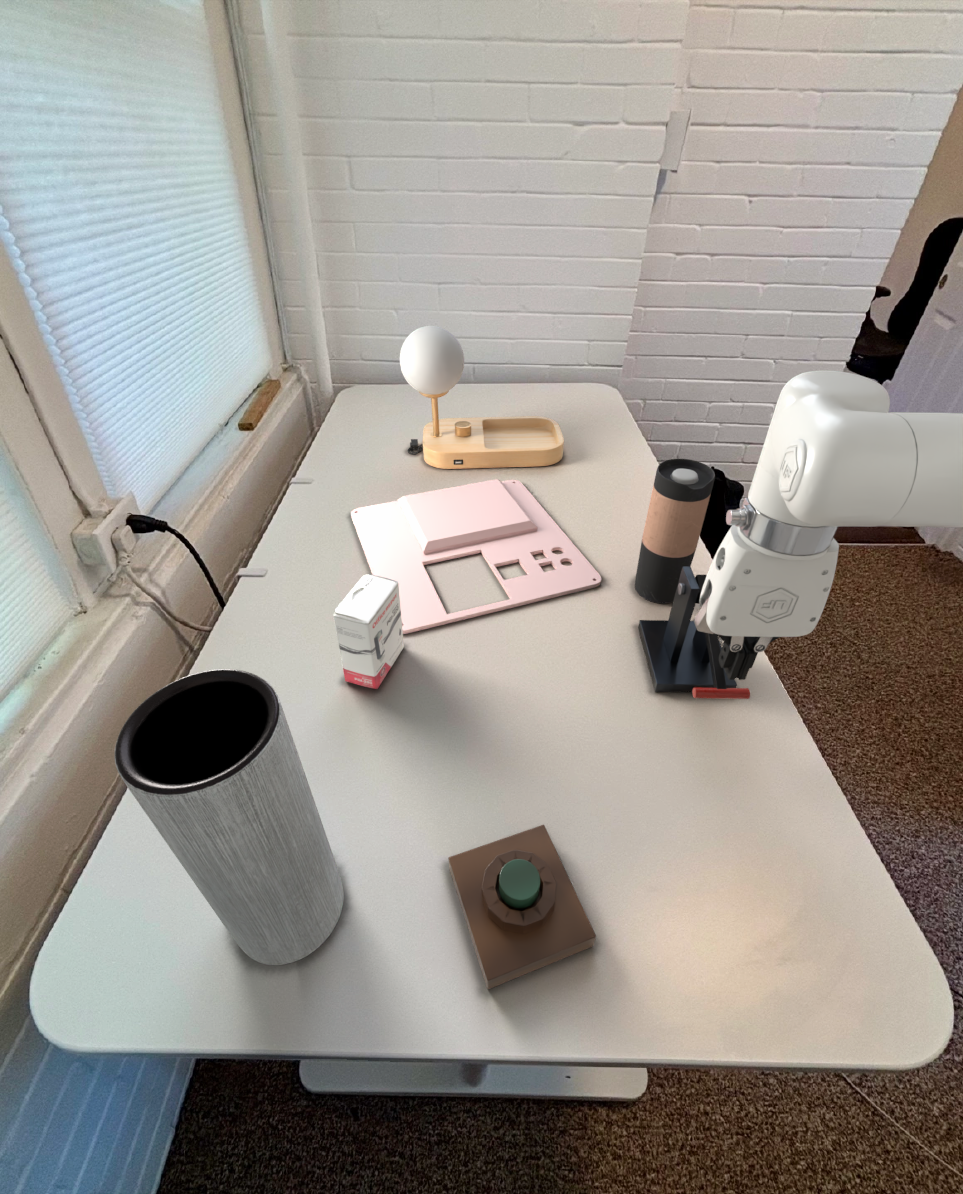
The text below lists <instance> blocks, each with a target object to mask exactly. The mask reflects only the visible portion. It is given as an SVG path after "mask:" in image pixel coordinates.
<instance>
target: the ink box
mask: <svg viewBox="0 0 963 1194" xmlns="http://www.w3.org/2000/svg"><path fill="white" fill-rule="evenodd" d="M333 621H334V627H335V632H336V637H337V645H338V649H339V655H340V660H341V665H342V672H343V677H344V681H345V682H347V683H350V684H354V685H358V686H361V687H365V688H369V689H373V690H378V689H379V688H380V687H381V686H380V685H381V684H382V682H383V681H384V680H385V678H386V676H387V675H388V673H389V671H390V670H391V668H393V665H394V664H395V662H396V661H397V659H398V658H399V656H400V654H401V652H402V651H403V649H404V647H405V643H404V634H403V630H402V619H401V608H400V597H399V585H398V581H395V580H392V579H388V578H385V577H380V576H376V575H372V573H371V574H370V573H367V574H364V575H362V576H361V577H360V579H359V580H358V581H357V582H356V583H355V584H354V586H353V587H352V588H351V589H350V590H349V591H348V592H347V594H346V596H345V597H344V598H343V599H342V600H340V602H339V604H338V605H337V606H336V607H335V609H334V613H333Z"/></svg>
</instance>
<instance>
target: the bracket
mask: <svg viewBox="0 0 963 1194" xmlns="http://www.w3.org/2000/svg"><path fill="white" fill-rule="evenodd" d="M695 577H696V575H695V574H694V572H693V569H692V566H691V567H685V566H683V567H682V571H681V574H680V578H679V582H678V586H677V589H676V593H675V597H674V601H673V602H672V605H671V609H670V613H669V615H668V619H667V620H664V619H662V620H660V619H659V620H658V619H641V620H639V621H638V626H637V630H638V633H639V636H640V640H641V644H642V645H641V646H642V648H643V652H644V656H645V661H646V664H647V667H648V672H649V675H650V678H651V682H652V686H653V691H654V692H655V693H692V691H693V688H694V687H702V688H714V686H713V679H712V673H711V667H710V660H709V654H708V647H707V641H706V635H705V632H700V631H698V630H697V629H696V626H695V623H694V620H692V617H693V614H694V610H695V606H696V604H695V603H696V600H697V597H698V593H699V590H700V588H699V586H698V584H697V581H696V579H695ZM719 645H720V651H721V649H722V645H721V642H720V641H719ZM723 669H724V668H723ZM724 675H725V681H726V687H727V688H738V683H737V681H736V679H735V680H729V679H728V677H727V675H726V672H725V670H724Z"/></svg>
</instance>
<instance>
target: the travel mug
mask: <svg viewBox="0 0 963 1194" xmlns="http://www.w3.org/2000/svg"><path fill="white" fill-rule="evenodd" d="M658 464H659V465H658V466H657V467H656V472H655V476H654V481H653V486H652V490H651V493H650V494H651V495H650V500H649V504H648V507H647V508H648V509H647V513H646V518H645V523H644V527H643V533H642V535H641V543H640V548H639V549H640V550H639V553H638V560H637V567H636V572H635V573H636V574H635V578H634V579H635V580H634V588H635V592H636V593H637V594H638V595H639V596H640V597H641V598H643V599H644V600H645V601H648V602H652V603H655V604H671V603H673V601H674V597H675V593H676V589H677V586H678V582H679V578H680V574H681V571H682V567H683V566H685V567H691V568H692V564H693V561H694V557H695V554H696V552H697V548H698V543H699V540H700V536H701V532H702V528H703V525H704V521H705V518H706V514H707V509H708V506H709V502H710V498H711V496H712V495H711V494H712V490H713V487H714V483H715V479H716V474H715V471H714V469H713V468H712V467H710V466H709V465H708V464H706V463H703V462H700V461H698V460H694V459H688V458H671V459H667V460H664V461H662V462H660V463H658Z"/></svg>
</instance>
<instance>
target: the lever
mask: <svg viewBox="0 0 963 1194" xmlns="http://www.w3.org/2000/svg"><path fill="white" fill-rule="evenodd" d="M706 576H707V574H696V575H695V579H696V581H697V584H698V586H699V588H700V590H699V593H698V597H697V600H696V603H695V605H697V604H699V605H700V603H699V600H700V594H701V591H702V588H703V584H704V582H705V579H706ZM705 635H706V641H707V647H708V654H709V660H710V667H711V673H712V679H713V686H714V688H702V687H694V688H693V691H692V692H691V693H692V697H693V698H694V699H718V700H721V699H722V700H723V699H724V700H750V699H751V698H750V697H751V690H750V688H748V687H736V688H727V687H726V681H725V675H724V669H723V668H721V666H720V664H719V655H720V652H721V651H720V645H719V642H720V640H719V636H718V635H717V634H714V633H713V634H710V633H705Z"/></svg>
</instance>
